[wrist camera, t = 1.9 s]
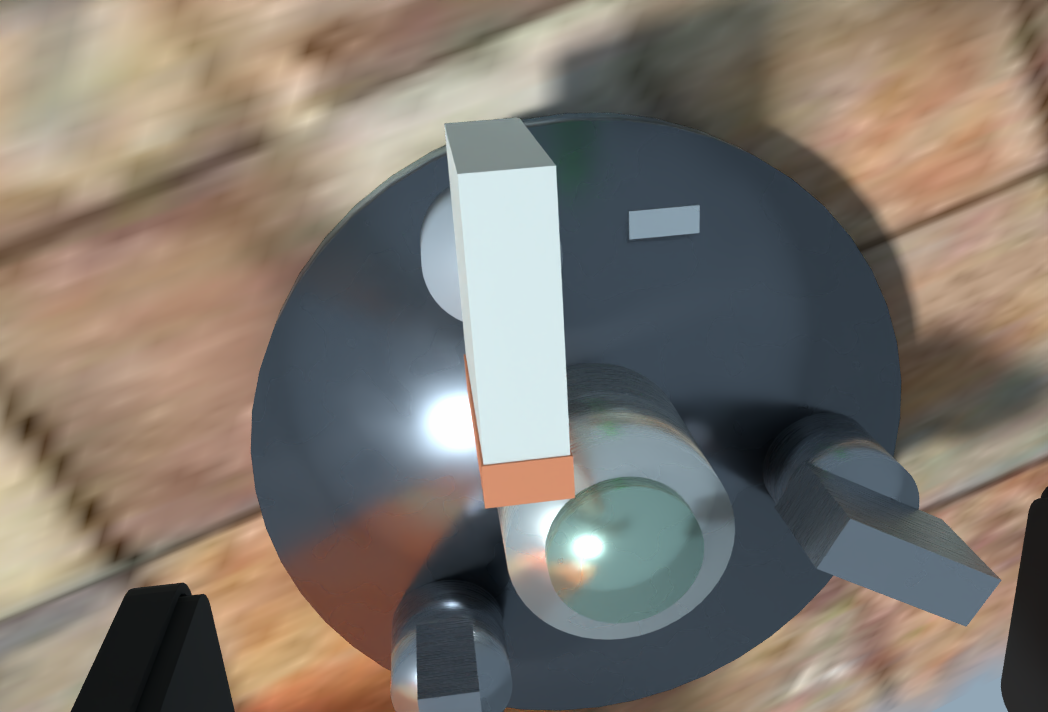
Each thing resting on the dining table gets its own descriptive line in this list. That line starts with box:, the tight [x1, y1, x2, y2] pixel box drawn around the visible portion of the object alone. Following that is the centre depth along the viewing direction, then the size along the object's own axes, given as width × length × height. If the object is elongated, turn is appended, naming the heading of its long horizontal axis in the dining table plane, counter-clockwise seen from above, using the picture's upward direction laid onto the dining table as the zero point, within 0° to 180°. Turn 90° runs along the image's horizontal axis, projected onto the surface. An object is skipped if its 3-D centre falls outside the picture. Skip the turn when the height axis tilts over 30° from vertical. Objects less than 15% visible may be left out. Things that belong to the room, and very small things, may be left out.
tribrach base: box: [251, 113, 1001, 712], centre depth 27 cm, size 20×20×8 cm
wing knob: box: [420, 118, 575, 509], centre depth 22 cm, size 7×4×8 cm, turn 4°
